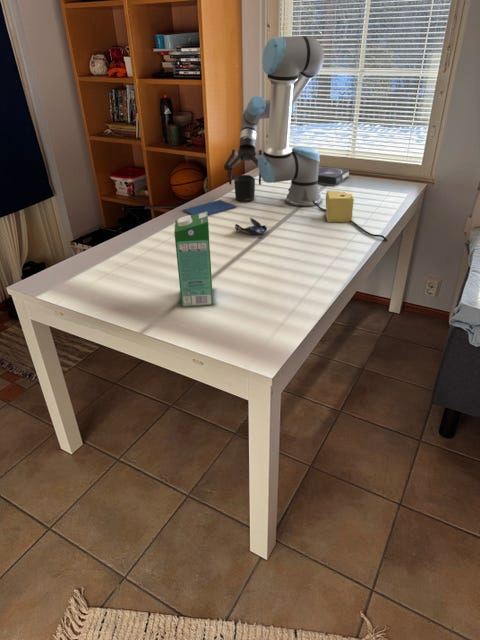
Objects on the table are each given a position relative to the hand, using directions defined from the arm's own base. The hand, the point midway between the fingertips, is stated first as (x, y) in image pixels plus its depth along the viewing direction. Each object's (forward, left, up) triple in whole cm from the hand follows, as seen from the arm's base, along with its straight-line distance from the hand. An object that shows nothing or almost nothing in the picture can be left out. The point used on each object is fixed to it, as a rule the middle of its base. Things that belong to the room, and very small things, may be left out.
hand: (244, 183), depth 214 cm
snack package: (-35, +25, -7) cm, 43 cm away
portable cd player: (-4, -51, -7) cm, 52 cm away
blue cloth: (-1, +21, -7) cm, 22 cm away
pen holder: (-1, +1, -7) cm, 7 cm away
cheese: (-46, -12, -7) cm, 48 cm away
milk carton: (-64, +70, -7) cm, 95 cm away
